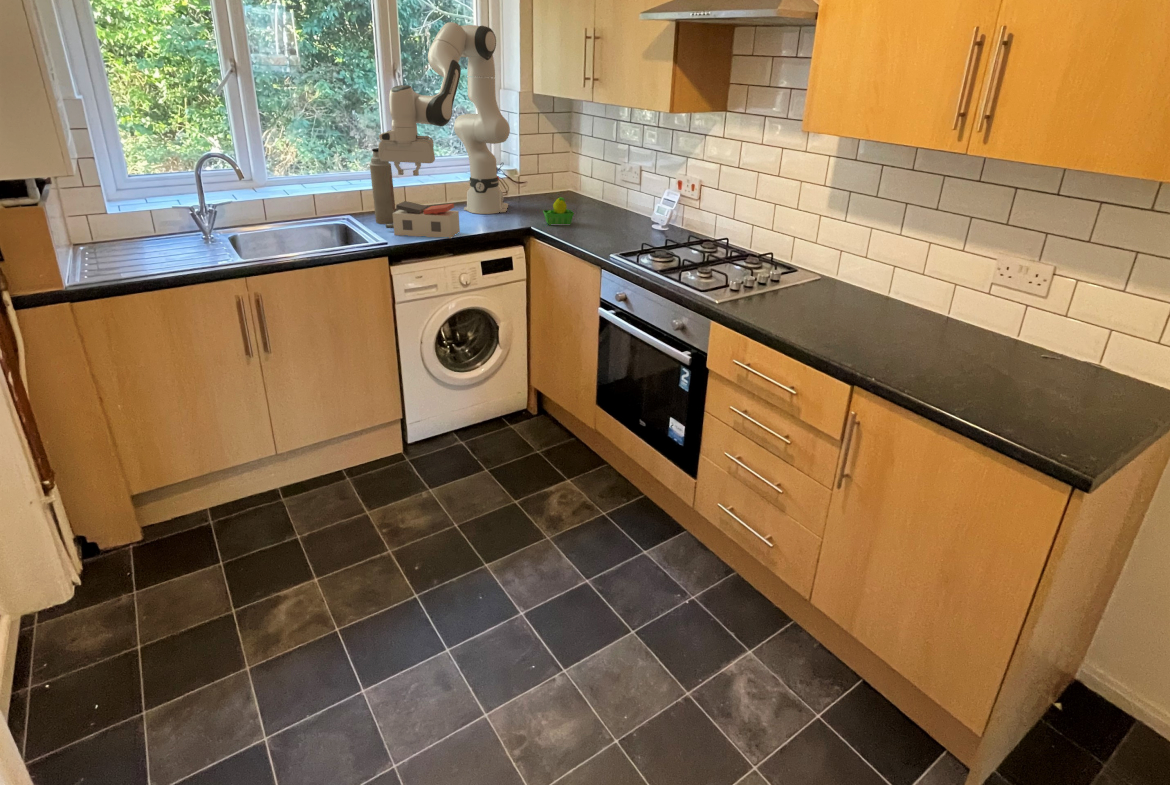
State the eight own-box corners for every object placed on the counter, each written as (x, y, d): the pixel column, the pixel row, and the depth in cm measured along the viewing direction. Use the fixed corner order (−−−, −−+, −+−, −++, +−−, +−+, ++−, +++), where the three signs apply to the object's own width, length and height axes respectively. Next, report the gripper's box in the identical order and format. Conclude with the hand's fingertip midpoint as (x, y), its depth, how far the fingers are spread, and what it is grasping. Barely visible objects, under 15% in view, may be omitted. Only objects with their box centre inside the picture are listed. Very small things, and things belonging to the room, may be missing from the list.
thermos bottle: (398, 219, 288) (391, 147, 276) (393, 224, 281) (386, 150, 269) (379, 219, 288) (371, 147, 276) (373, 223, 281) (365, 149, 269)
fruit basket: (570, 221, 291) (570, 193, 286) (575, 226, 283) (575, 197, 278) (542, 222, 288) (542, 194, 284) (546, 227, 281) (546, 198, 276)
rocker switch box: (392, 228, 275) (390, 207, 271) (459, 232, 271) (458, 210, 268) (381, 234, 266) (379, 212, 262) (450, 238, 262) (449, 216, 259)
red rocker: (432, 211, 268) (431, 206, 268) (454, 208, 266) (453, 203, 266) (424, 215, 261) (423, 210, 260) (447, 213, 259) (446, 207, 259)
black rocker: (404, 206, 269) (404, 200, 268) (427, 211, 269) (427, 206, 268) (396, 210, 262) (396, 204, 261) (419, 215, 262) (419, 210, 261)
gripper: (436, 135, 255) (438, 175, 261) (382, 133, 258) (386, 172, 264) (429, 137, 250) (432, 177, 256) (374, 134, 252) (378, 175, 258)
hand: (408, 175), depth 260 cm, fingers open, 4 cm apart
